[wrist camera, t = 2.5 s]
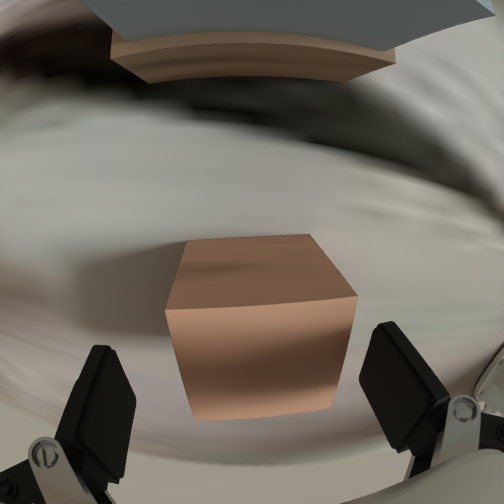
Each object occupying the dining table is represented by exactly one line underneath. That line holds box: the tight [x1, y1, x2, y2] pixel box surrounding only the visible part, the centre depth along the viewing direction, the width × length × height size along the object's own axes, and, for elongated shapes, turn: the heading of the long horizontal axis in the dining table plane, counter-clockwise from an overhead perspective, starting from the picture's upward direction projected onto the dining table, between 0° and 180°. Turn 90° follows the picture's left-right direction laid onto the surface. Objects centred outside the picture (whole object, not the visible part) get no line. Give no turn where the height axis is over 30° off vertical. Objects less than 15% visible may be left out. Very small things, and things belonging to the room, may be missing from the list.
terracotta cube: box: [165, 234, 358, 420], centre depth 12 cm, size 6×6×6 cm
